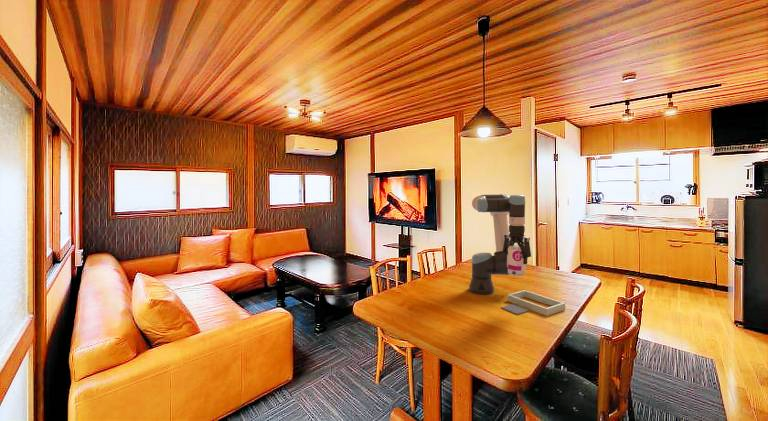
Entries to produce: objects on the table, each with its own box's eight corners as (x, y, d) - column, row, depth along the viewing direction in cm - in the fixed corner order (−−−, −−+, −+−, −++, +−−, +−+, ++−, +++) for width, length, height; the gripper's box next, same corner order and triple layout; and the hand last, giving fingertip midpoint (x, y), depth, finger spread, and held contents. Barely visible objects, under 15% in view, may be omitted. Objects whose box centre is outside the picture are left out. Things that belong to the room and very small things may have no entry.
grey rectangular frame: (507, 300, 172) (507, 294, 172) (524, 295, 179) (524, 290, 179) (546, 315, 151) (546, 309, 151) (565, 309, 158) (565, 303, 158)
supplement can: (526, 276, 153) (527, 247, 152) (509, 276, 155) (509, 247, 154) (522, 272, 161) (523, 244, 160) (506, 272, 163) (506, 244, 162)
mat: (501, 308, 162) (501, 307, 162) (514, 304, 166) (514, 303, 166) (517, 314, 153) (517, 313, 153) (530, 310, 157) (530, 309, 157)
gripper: (495, 223, 164) (495, 264, 165) (530, 227, 145) (529, 274, 147) (505, 222, 167) (504, 263, 169) (540, 226, 149) (539, 271, 150)
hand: (516, 268), depth 158 cm, fingers closed on supplement can, 8 cm apart
